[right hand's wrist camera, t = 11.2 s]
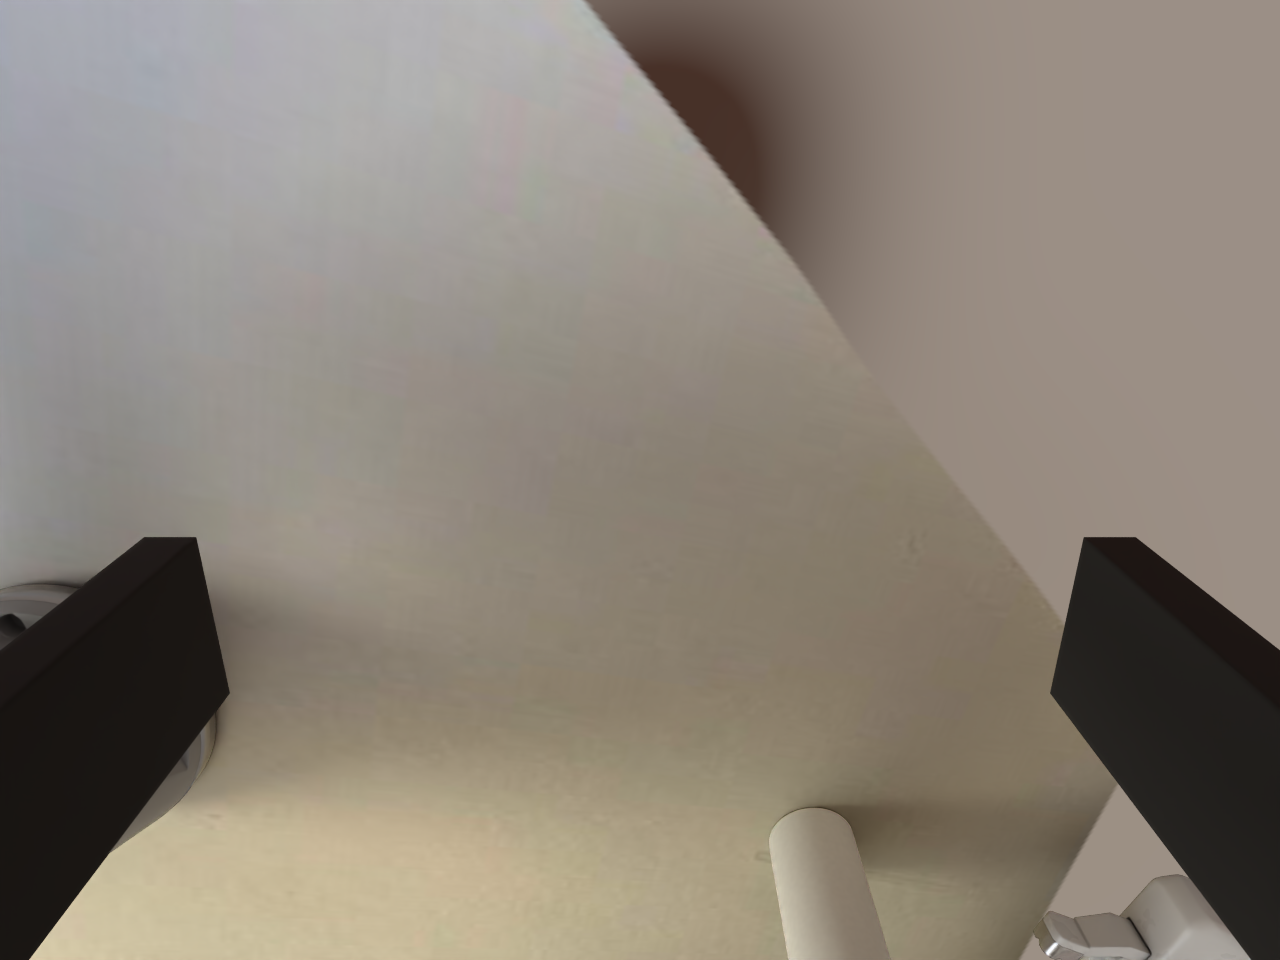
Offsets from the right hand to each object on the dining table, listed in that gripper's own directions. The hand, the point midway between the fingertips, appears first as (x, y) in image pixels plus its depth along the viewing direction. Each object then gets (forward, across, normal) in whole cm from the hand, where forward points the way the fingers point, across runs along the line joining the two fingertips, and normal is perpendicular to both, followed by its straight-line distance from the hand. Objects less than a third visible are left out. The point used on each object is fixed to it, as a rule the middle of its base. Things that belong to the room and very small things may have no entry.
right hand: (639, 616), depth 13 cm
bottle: (+28, -10, +32) cm, 43 cm away
